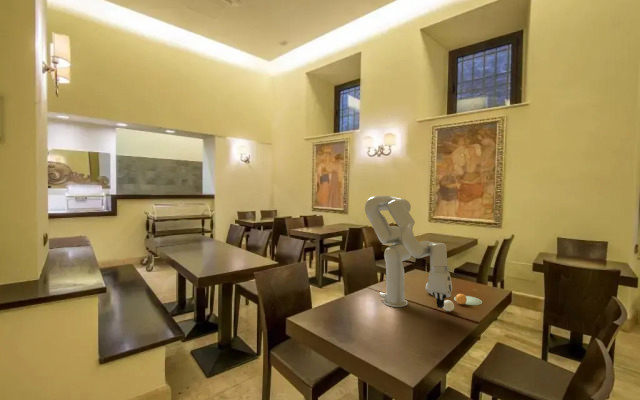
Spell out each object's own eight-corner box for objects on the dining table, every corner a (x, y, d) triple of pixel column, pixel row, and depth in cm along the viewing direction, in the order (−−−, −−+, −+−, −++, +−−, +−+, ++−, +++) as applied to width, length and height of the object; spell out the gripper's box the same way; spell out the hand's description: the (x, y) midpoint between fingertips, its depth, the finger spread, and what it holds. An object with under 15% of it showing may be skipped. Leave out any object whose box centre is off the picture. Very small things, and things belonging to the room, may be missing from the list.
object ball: (454, 304, 160) (454, 294, 159) (456, 301, 164) (456, 291, 164) (465, 306, 156) (465, 296, 156) (467, 303, 161) (467, 293, 161)
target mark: (451, 301, 164) (451, 301, 164) (456, 294, 175) (456, 294, 175) (480, 307, 156) (480, 306, 156) (483, 299, 167) (483, 298, 167)
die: (443, 297, 172) (444, 281, 177) (433, 292, 169) (434, 275, 175) (431, 298, 179) (432, 283, 184) (421, 293, 176) (422, 277, 181)
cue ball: (441, 311, 151) (441, 300, 150) (443, 308, 155) (443, 297, 155) (453, 314, 147) (452, 302, 147) (455, 310, 152) (455, 299, 152)
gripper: (458, 269, 141) (459, 308, 141) (428, 265, 152) (430, 301, 152) (450, 272, 136) (451, 313, 136) (420, 267, 148) (422, 305, 148)
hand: (440, 306), depth 144 cm, fingers closed
